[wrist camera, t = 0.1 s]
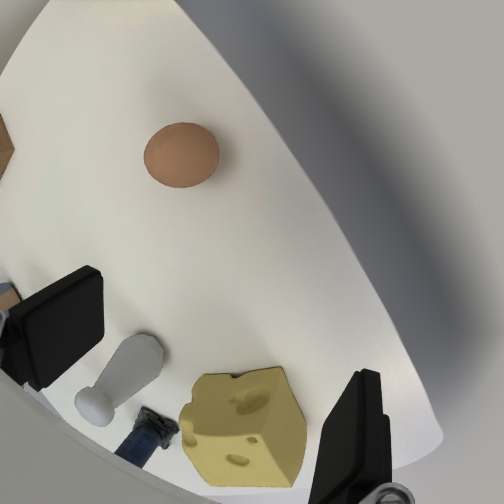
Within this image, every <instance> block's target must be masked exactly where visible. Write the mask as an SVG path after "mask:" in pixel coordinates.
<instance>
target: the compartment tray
mask: <svg viewBox="0 0 504 504" xmlns="http://www.w3.org/2000/svg"><path fill="white" fill-rule="evenodd" d="M13 151H14V147H13V145H12V143H11V140H10V138H9V135H8V133H7V130H6V127H5V125H4V122H3V119H2V117H1V114H0V179H1V177H2V174H3V172H4V170H5V168H6V166H7V163H8V161H9V159H10V157H11V155H12V153H13Z"/></svg>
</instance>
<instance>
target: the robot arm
mask: <svg viewBox="0 0 504 504" xmlns="http://www.w3.org/2000/svg"><path fill="white" fill-rule="evenodd" d="M8 313H9V317H7V318H6V316H5V313H4V312H3V311H2V310H0V504H221V503H218V502H215V501H212V500H210V499H207V498H204V497H202V496H199V495H197V494H194V493H192V492H190V491H187V490H185V489H183V488H180V487H178V486H176V485H174V484H171V483H169V482H167V481H165V480H163V479H161V478H159V477H157V476H155V475H153V474H151V473H149V472H147V471H145V470H143V469H141V468H139V467H137V466H135V465H133V464H131V463H130V462H128V461H126V460H124V459H122V458H121V457H119V456H117V455H116V454H114V453H112V452H110V451H109V450H107V449H105V448H104V447H102V446H101V445H99V444H97V443H96V442H94V441H93V440H91V439H90V438H88V437H87V436H85V435H84V434H82V433H81V432H79V431H78V430H76V429H75V428H73V427H72V426H70V425H69V424H68V423H66V422H65V421H63V420H62V419H61V418H59V417H58V416H57V415H55V414H54V413H53V412H51V411H50V410H48V409H47V408H46V407H45V406H43V405H42V404H41V403H40V402H39V401H37V400H36V399H35V398H34V397H32V396H31V395H30V394H29V393H28V392H26V391H25V390H24V383H26V382H27V381H28V384H29V385H30V386H31V387H32V388H33V389H34V390H36V391H37V392H39V391H40V390H41V389H42V388H47V387H48V386H49V385H51V384H52V383H53V382H54V381H55V380H56V379H57V378H59V377H60V376H61V375H62V374H63V373H64V372H65V371H66V370H68V369H69V368H70V367H71V366H72V365H73V364H74V363H76V362H77V361H78V360H79V359H80V358H81V357H83V356H84V355H85V354H86V353H87V352H88V351H89V350H91V349H92V348H93V347H94V346H95V345H96V344H98V343H99V342H100V341H101V340H102V338H103V337H104V332H105V331H104V301H103V277H102V276H101V272H100V271H99V270H97V269H95V268H93V267H91V266H88V265H86V266H84V267H82V268H80V269H78V270H76V271H74V272H72V273H71V274H69V275H67V276H65V277H63V278H62V279H60V280H58V281H56V282H54V283H53V284H51V285H49V286H47V287H46V288H44V289H42V290H40V291H39V292H37V293H35V294H33V295H32V296H30V297H28V298H26V299H25V300H23V301H21V302H20V303H18V304H16V305H15V306H13V307H11V308H10V309H8ZM308 504H415V499H414V497H413V495H412V493H411V492H410V491H409V490H408V489H407V488H406V487H404V486H403V485H401V484H398V483H392V454H391V432H390V419H389V416H388V415H386V414H383V406H382V391H381V379H380V373H379V372H376V371H372V370H368V369H365V368H364V369H362V370H361V371H360V372H359V371H356V372H355V373H354V374H353V376H352V378H351V380H350V381H349V383H348V385H347V386H346V388H345V390H344V391H343V393H342V395H341V396H340V398H339V400H338V401H337V403H336V404H335V406H334V408H333V409H332V411H331V412H330V414H329V416H328V417H327V419H326V420H325V422H324V424H323V427H322V432H321V438H320V444H319V450H318V456H317V461H316V467H315V472H314V477H313V483H312V488H311V492H310V497H309V502H308Z"/></svg>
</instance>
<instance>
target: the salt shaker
mask: <svg viewBox="0 0 504 504" xmlns="http://www.w3.org/2000/svg"><path fill="white" fill-rule="evenodd" d="M163 353H164V348H163V347H162V346H161V345H160V343H159V342H158V341H157V339H156V338H155V337H152V336H149V335H146V334H143V333H142V334H138V335H134V336H131V337H129V338H127V339H125V340H124V341H122V342H121V344H120V346H119V347H118V349H117V350H116V352H115V353H114V355H113V356H112V358H111V359H110V361H109V362H108V364H107V366H106V367H105V369H104V370H103V372H102V373H101V375H100V377H99V378H98V380H97V381H96V383H95V385H94V386H93V388H91V387H86V388H83V389H82V390H80V391H79V392H78V393H77V395H76V396H75V406H76V408H77V410H78V412H79V413H80V414H81V416H82V417H83V418H84V419H86V420H87V421H88V422H89V423H91V424H92V425H95V426H98V427H104V426H107V425H108V424H109V423H110V422H111V421H112V419H113V417H114V414H115V411H114V409H115V408H117V407H118V406H119V405H121V404H122V403H123V402H125V401H126V400H127V399H129V398H130V397H131V396H133V395H134V394H135V393H137V392H138V391H139V390H141V389H142V388H143V387H145V386H146V385H147V384H149V383H150V382H151V381H153V380H154V379H155V378H157V377H158V376H159V374H160V372H161V370H162V368H163Z"/></svg>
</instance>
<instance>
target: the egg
mask: <svg viewBox="0 0 504 504" xmlns="http://www.w3.org/2000/svg"><path fill="white" fill-rule="evenodd" d="M218 161H219V147H218V144H217V142H216V140H215V137H214V136H213V135H212V134H211V133H210V131H208V130H207V129H205V128H204V127H202V126H200V125H197V124H194V123H184V122H182V123H175V124H172V125H168V126H166V127H164V128H163V129H161V130H160V131H158V132H157V133H156V134H155V135H154V136H153V137H152V138H151V139H150V141H149V142H148V144H147V146H146V148H145V151H144V163H145V166H146V168H147V170H148V172H149V174H150V175H151V176H152V177H153V178H154V179H155V180H157V181H158V182H160V183H162V184H164V185H166V186H170V187H174V188H187V187H192V186H195V185H197V184H200V183H201V182H203V181H205V180H206V179H207V178H208V177H209V176H211V174H212V173H213V172H214V171H215V168H216V166H217V164H218Z"/></svg>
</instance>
